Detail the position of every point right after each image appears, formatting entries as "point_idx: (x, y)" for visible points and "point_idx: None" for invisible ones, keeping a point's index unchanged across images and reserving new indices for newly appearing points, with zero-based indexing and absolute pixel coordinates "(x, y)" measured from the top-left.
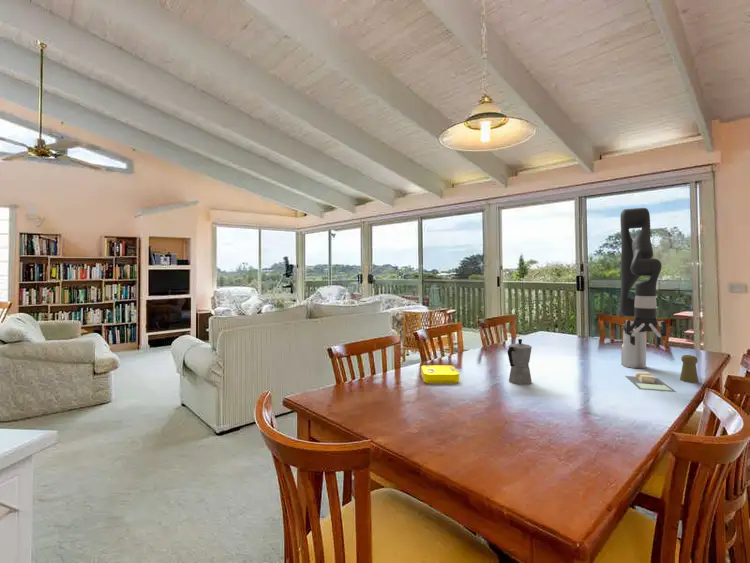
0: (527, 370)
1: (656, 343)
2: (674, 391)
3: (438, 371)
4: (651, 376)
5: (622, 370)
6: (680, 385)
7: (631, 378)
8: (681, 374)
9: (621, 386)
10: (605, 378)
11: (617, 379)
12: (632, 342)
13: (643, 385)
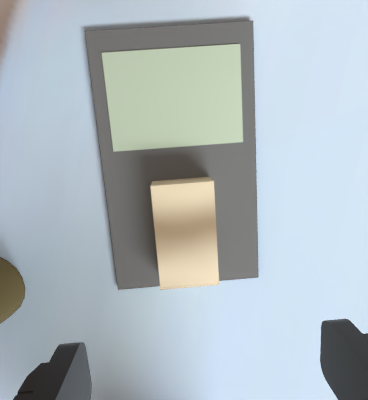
0: None
1: (75, 382)
2: (93, 38)
3: None
4: (163, 194)
5: (238, 392)
6: (39, 200)
7: (239, 235)
8: (1, 303)
9: (319, 72)
10: (354, 210)
11: (303, 210)
12: (365, 347)
13: (217, 104)
